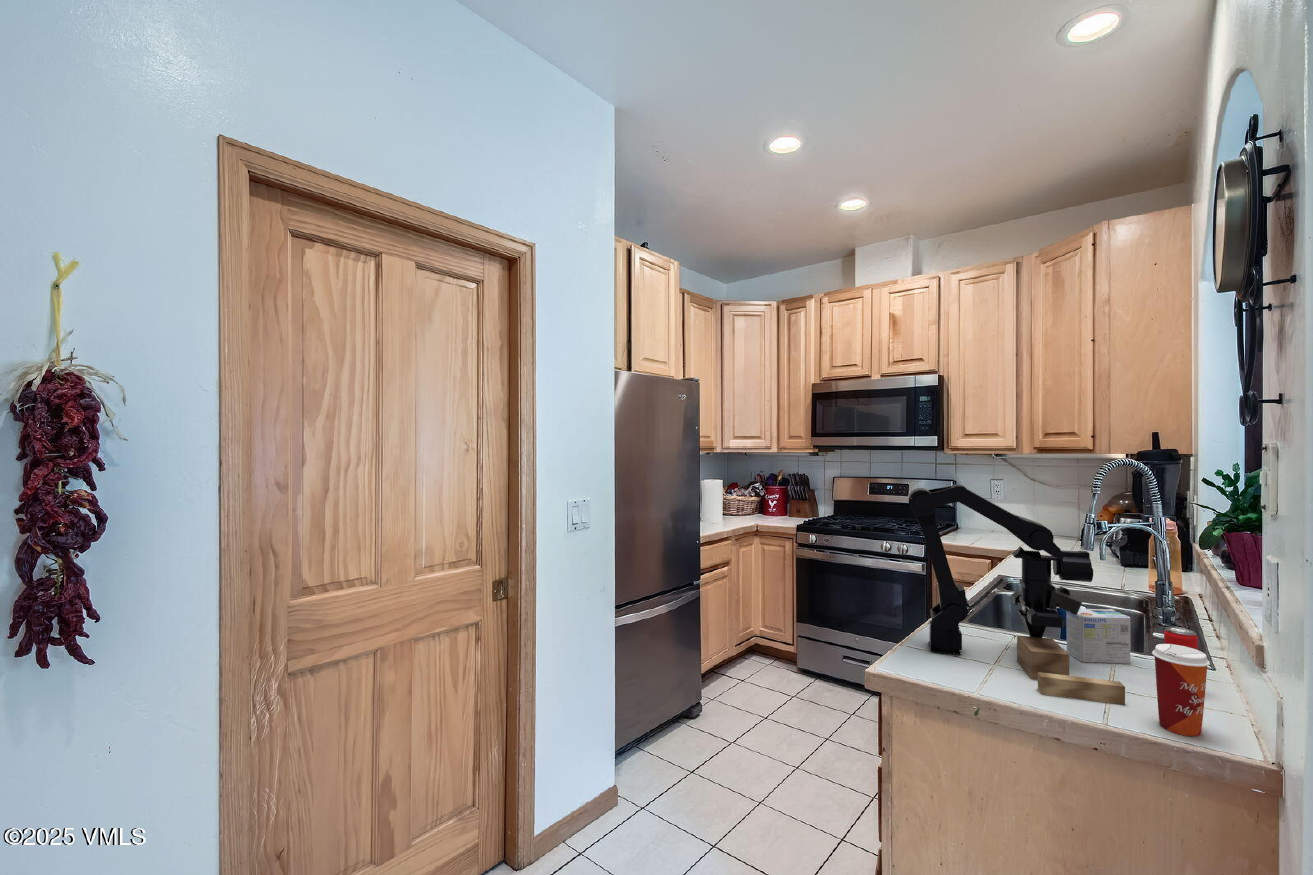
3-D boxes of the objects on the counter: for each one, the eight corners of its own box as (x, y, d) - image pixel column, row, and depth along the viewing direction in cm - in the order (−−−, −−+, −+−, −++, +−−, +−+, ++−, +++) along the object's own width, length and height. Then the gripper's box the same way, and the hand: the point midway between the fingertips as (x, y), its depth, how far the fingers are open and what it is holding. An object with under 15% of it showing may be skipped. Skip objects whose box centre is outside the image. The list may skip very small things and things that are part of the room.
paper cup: (1194, 743, 100) (1195, 661, 100) (1142, 723, 107) (1142, 646, 107) (1219, 734, 103) (1219, 654, 103) (1166, 714, 111) (1167, 640, 110)
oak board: (1041, 694, 119) (1041, 676, 119) (1037, 689, 122) (1037, 672, 122) (1125, 704, 115) (1125, 686, 115) (1119, 699, 117) (1120, 681, 117)
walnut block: (1031, 679, 127) (1031, 651, 126) (1016, 661, 136) (1017, 635, 136) (1069, 682, 125) (1069, 654, 124) (1051, 664, 134) (1051, 638, 134)
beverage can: (1190, 696, 118) (1190, 636, 118) (1158, 686, 123) (1159, 628, 123) (1202, 691, 120) (1202, 632, 120) (1170, 681, 125) (1171, 625, 125)
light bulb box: (1112, 653, 141) (1112, 608, 141) (1132, 664, 134) (1132, 617, 134) (1064, 652, 142) (1064, 607, 142) (1081, 663, 135) (1082, 616, 135)
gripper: (1092, 591, 125) (1092, 665, 125) (1064, 571, 142) (1063, 635, 143) (1031, 587, 128) (1031, 659, 129) (1011, 568, 146) (1011, 631, 146)
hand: (1036, 645), depth 136 cm, fingers closed
